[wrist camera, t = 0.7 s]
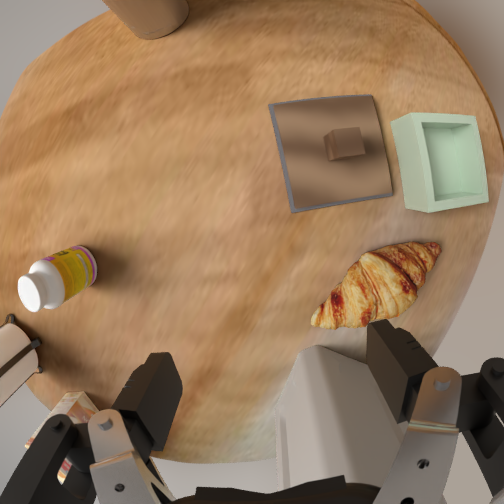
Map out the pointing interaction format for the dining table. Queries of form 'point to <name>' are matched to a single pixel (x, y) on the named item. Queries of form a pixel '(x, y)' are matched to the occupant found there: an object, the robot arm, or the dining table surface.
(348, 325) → the croissant
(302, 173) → the lid
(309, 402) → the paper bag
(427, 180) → the green box
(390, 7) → the dining table surface
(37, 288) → the supplement bottle
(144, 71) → the dining table surface
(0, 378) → the coffee press
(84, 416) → the coffeecake box
